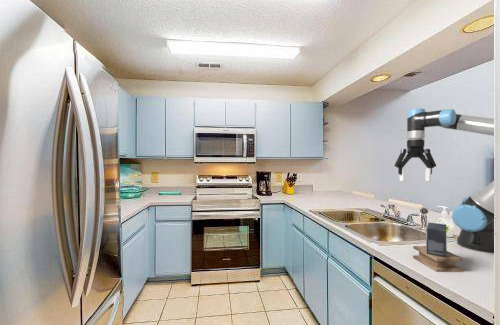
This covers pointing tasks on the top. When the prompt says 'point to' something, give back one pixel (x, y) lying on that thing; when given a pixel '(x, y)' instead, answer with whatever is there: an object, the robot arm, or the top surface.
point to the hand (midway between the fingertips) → (414, 180)
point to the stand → (438, 260)
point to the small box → (436, 239)
